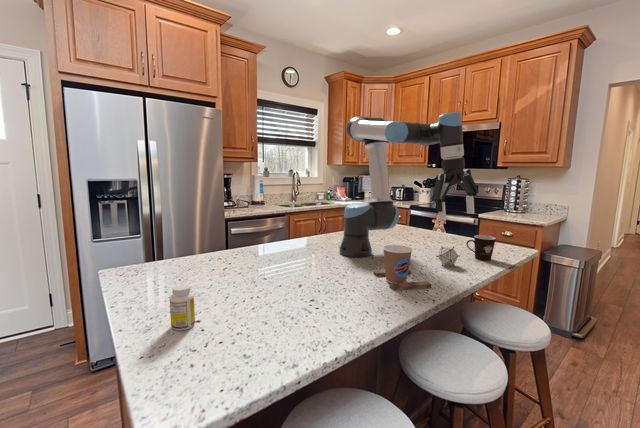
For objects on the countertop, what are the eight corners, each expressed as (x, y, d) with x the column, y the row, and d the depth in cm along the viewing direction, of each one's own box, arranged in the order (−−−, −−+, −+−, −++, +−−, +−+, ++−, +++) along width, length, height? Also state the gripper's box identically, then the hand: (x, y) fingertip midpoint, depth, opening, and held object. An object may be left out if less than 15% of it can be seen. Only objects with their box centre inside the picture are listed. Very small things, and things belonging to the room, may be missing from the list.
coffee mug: (493, 257, 147) (495, 236, 146) (494, 262, 140) (496, 240, 138) (465, 254, 152) (467, 233, 151) (465, 259, 144) (466, 237, 143)
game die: (448, 272, 137) (460, 253, 138) (454, 272, 128) (467, 251, 130) (429, 260, 138) (441, 241, 140) (434, 259, 130) (447, 238, 132)
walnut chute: (393, 290, 106) (393, 287, 106) (373, 273, 122) (373, 270, 122) (431, 287, 109) (431, 284, 109) (406, 271, 126) (406, 268, 126)
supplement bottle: (188, 318, 84) (186, 281, 83) (199, 325, 81) (197, 286, 79) (167, 326, 80) (164, 287, 79) (177, 334, 77) (175, 293, 75)
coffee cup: (394, 287, 109) (395, 253, 107) (375, 278, 118) (376, 246, 116) (416, 283, 113) (419, 250, 112) (397, 274, 122) (398, 243, 121)
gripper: (432, 161, 105) (437, 224, 109) (487, 153, 115) (490, 211, 118) (417, 163, 112) (422, 222, 115) (469, 155, 122) (473, 210, 125)
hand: (456, 216), depth 117 cm, fingers open, 13 cm apart
